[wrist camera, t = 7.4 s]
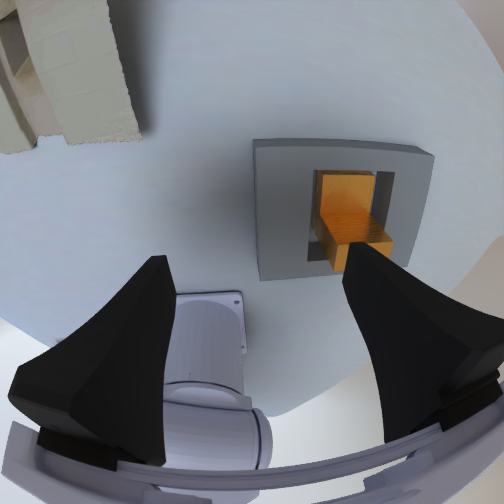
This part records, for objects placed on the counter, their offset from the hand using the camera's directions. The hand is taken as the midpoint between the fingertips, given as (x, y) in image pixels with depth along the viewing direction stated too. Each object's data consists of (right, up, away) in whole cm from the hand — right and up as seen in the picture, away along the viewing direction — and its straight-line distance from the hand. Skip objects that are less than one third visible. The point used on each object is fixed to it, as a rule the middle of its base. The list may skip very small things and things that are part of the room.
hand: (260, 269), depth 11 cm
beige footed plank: (-15, +14, +1) cm, 21 cm away
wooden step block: (+6, +5, +9) cm, 12 cm away
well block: (+6, +4, +9) cm, 12 cm away
